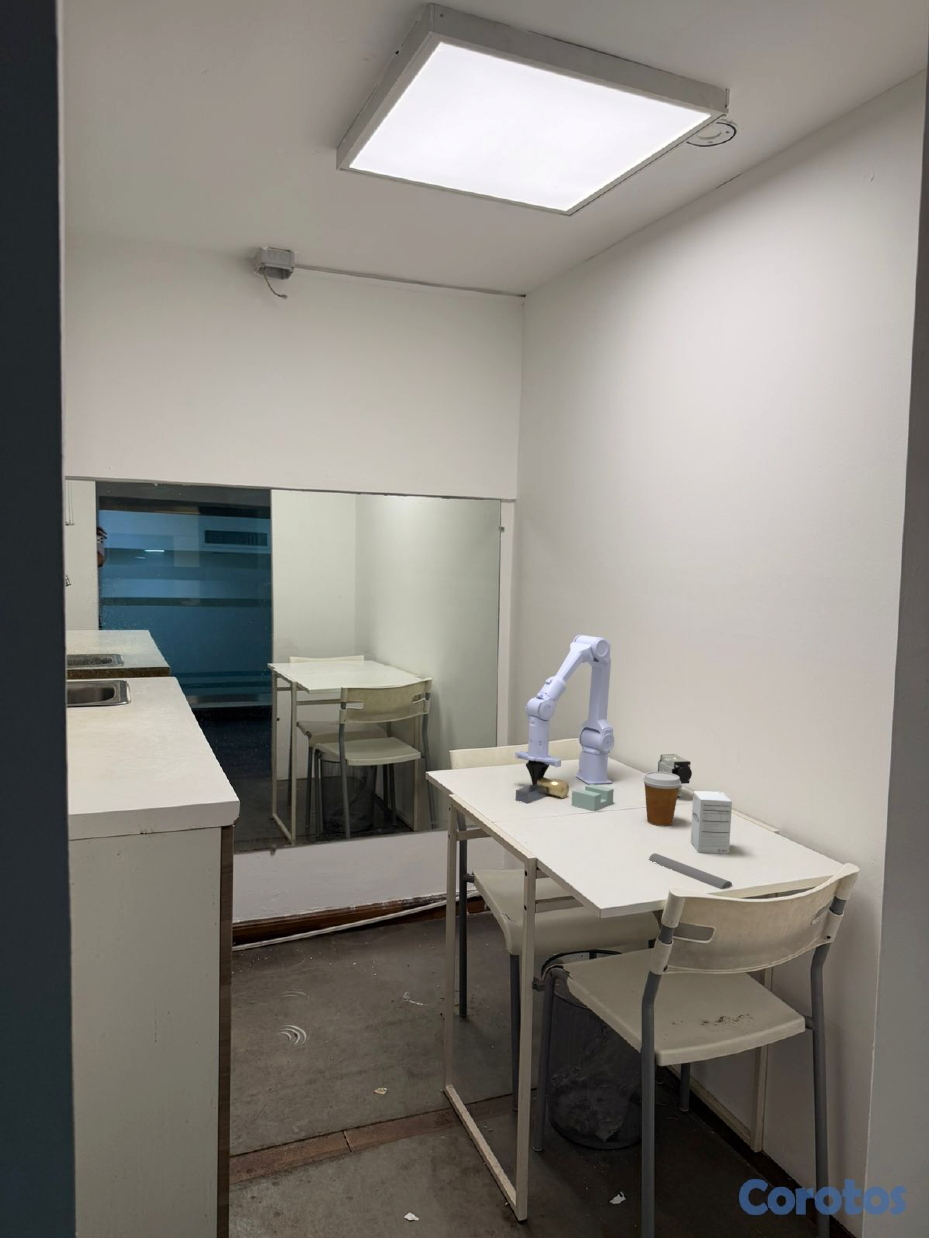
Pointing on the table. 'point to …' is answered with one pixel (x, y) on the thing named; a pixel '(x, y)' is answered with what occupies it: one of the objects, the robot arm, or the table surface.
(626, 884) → the table surface
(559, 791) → the gold rounded piece
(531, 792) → the grey rectangular blocks
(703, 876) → the half round rod
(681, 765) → the pneumatic valve
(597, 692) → the robot arm
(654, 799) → the disposable coffee cup
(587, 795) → the v block
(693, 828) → the supplement box
